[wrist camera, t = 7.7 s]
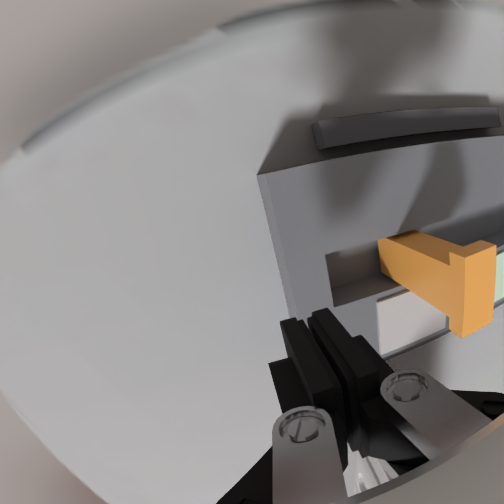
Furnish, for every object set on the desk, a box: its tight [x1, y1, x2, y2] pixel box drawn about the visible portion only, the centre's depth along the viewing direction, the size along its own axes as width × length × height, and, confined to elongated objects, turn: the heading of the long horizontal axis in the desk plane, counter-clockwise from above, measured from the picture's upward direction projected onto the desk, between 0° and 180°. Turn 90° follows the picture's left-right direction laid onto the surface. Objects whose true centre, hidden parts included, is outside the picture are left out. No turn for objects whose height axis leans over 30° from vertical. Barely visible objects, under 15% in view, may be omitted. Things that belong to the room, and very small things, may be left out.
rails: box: [311, 107, 504, 361], centre depth 19 cm, size 16×17×2 cm
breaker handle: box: [377, 230, 496, 339], centre depth 14 cm, size 2×4×8 cm, turn 14°
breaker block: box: [257, 135, 504, 358], centre depth 18 cm, size 24×12×4 cm, turn 104°
